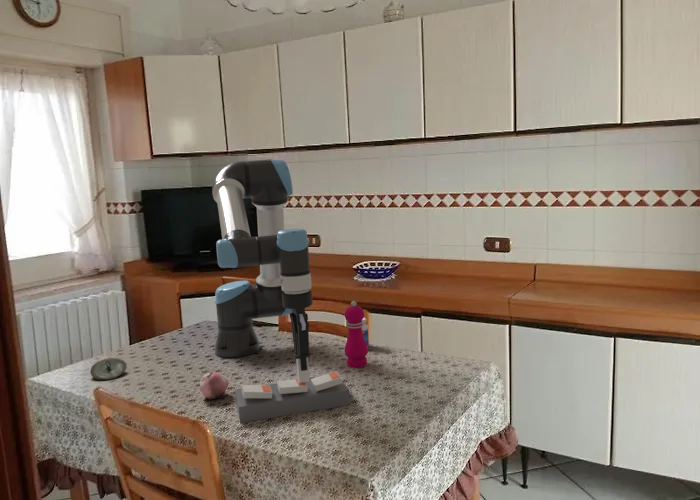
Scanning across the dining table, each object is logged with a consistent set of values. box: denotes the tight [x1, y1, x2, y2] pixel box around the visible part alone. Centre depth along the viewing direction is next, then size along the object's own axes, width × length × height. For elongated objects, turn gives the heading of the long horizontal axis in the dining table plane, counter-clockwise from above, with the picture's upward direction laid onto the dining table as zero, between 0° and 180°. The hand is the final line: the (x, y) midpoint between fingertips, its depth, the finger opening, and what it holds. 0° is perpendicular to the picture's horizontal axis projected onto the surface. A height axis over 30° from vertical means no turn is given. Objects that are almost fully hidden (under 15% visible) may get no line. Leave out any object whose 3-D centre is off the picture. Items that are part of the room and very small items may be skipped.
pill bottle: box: [362, 317, 370, 348], centre depth 196 cm, size 6×5×10 cm
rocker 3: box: [310, 370, 343, 392], centre depth 152 cm, size 5×7×2 cm
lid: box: [89, 357, 128, 381], centre depth 182 cm, size 11×10×5 cm
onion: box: [199, 371, 230, 401], centre depth 160 cm, size 8×8×7 cm
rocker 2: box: [276, 378, 308, 394], centre depth 150 cm, size 5×7×2 cm
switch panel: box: [234, 377, 351, 424], centre depth 152 cm, size 12×28×4 cm, turn 105°
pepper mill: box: [344, 300, 369, 369], centre depth 179 cm, size 7×7×20 cm
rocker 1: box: [241, 384, 272, 399], centre depth 147 cm, size 5×7×2 cm
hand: (303, 380), depth 150 cm, fingers closed
